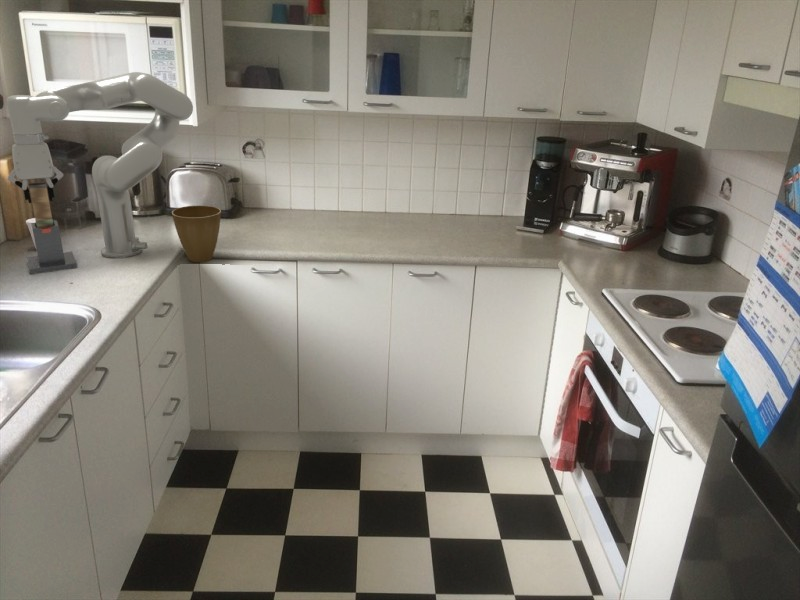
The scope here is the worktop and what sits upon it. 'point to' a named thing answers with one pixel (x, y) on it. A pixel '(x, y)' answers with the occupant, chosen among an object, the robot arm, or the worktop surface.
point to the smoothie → (31, 227)
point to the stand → (49, 251)
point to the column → (41, 204)
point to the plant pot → (197, 230)
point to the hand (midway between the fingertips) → (40, 200)
